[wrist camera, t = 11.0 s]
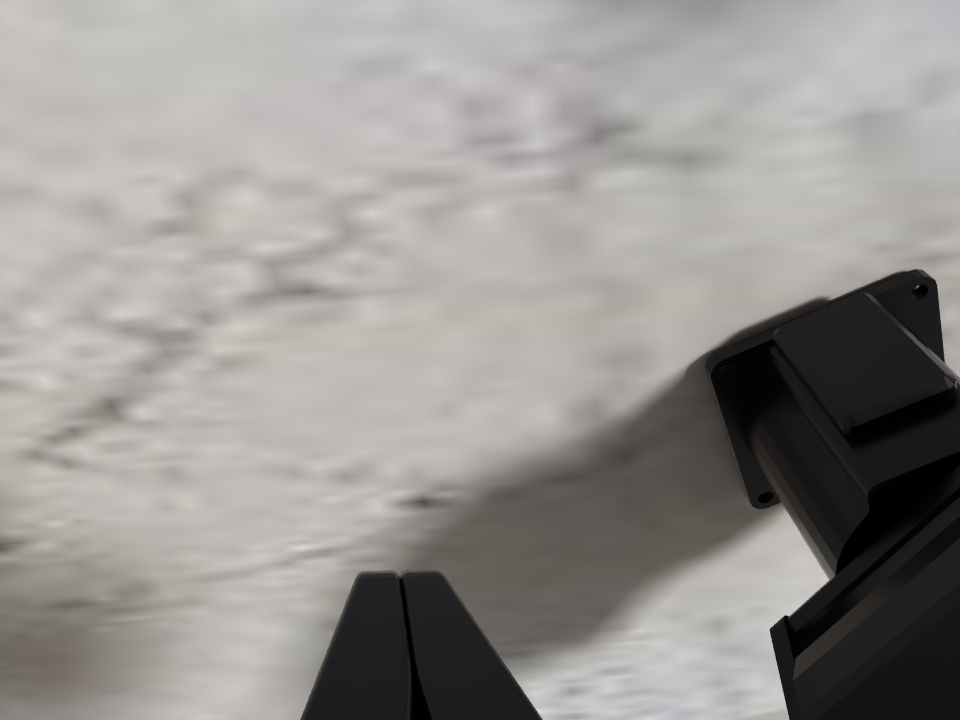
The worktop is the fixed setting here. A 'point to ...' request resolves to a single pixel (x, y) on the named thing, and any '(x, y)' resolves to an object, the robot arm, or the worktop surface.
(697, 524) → the worktop surface
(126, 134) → the worktop surface
